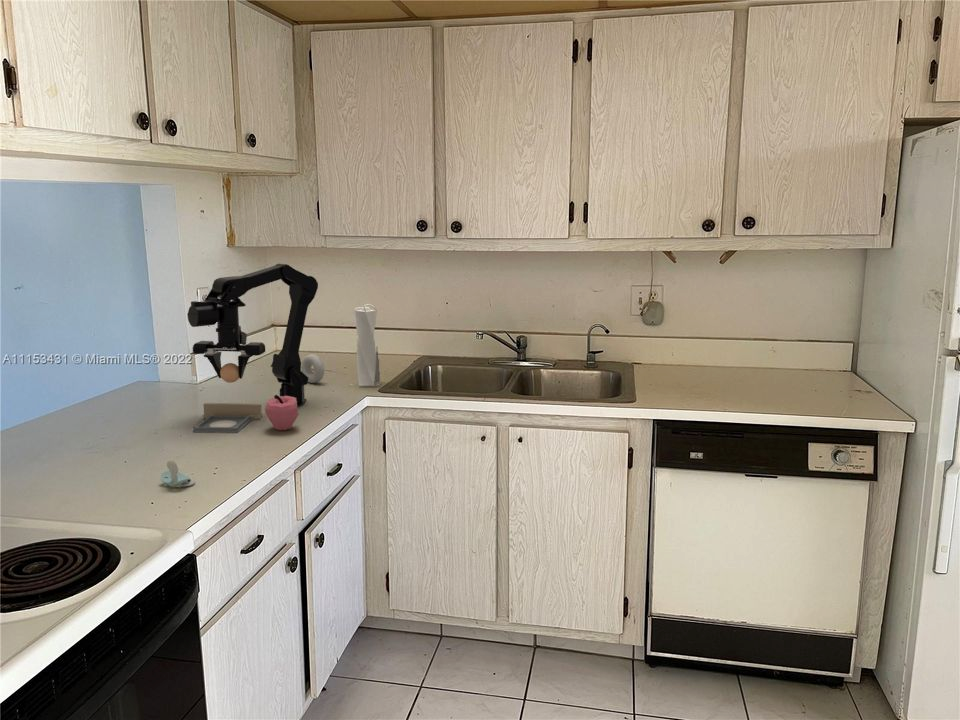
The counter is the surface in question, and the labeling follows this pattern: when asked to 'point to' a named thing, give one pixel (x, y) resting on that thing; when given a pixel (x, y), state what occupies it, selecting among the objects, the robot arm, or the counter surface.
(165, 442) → the counter surface
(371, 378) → the skyscraper
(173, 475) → the pacifier
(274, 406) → the apple
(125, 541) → the counter surface
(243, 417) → the mat
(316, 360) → the donut
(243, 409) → the tan rectangular bar
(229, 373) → the ball
